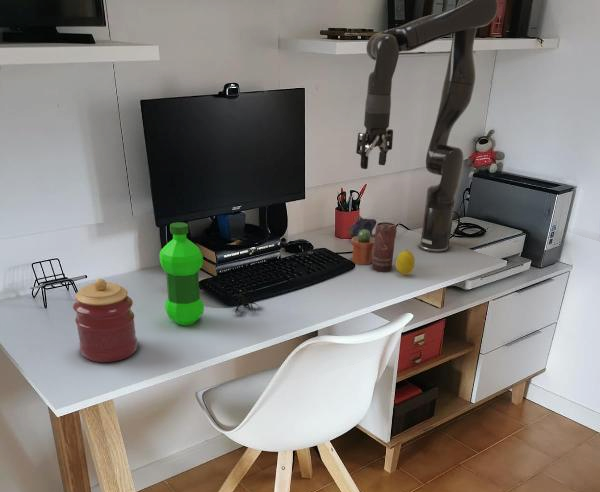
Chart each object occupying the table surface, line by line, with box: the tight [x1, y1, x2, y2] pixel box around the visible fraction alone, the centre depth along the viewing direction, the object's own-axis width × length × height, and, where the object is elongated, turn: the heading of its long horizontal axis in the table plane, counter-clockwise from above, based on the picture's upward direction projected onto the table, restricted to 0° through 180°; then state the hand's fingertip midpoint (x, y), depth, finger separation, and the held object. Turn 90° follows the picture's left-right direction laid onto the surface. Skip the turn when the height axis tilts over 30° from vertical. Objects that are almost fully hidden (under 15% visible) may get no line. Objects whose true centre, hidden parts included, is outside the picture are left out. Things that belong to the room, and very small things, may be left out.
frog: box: [348, 217, 378, 238], centre depth 229 cm, size 10×12×8 cm
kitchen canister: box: [72, 278, 138, 363], centre depth 149 cm, size 13×13×18 cm
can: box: [371, 221, 398, 273], centre depth 202 cm, size 6×6×14 cm
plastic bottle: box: [158, 221, 205, 326], centre depth 162 cm, size 10×10×25 cm
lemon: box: [395, 249, 415, 276], centre depth 199 cm, size 6×6×8 cm
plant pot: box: [351, 229, 375, 265], centre depth 209 cm, size 8×8×10 cm
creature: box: [227, 287, 260, 317], centre depth 174 cm, size 8×5×8 cm
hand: (373, 166), depth 203 cm, fingers open, 8 cm apart
